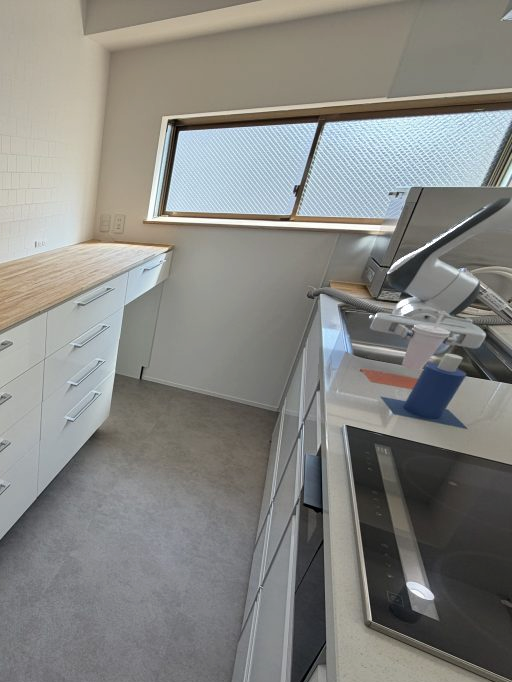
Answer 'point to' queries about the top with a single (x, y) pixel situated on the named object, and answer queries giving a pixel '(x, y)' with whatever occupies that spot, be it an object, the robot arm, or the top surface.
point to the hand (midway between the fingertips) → (429, 337)
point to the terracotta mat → (390, 379)
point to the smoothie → (424, 344)
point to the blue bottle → (435, 387)
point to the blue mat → (398, 409)
